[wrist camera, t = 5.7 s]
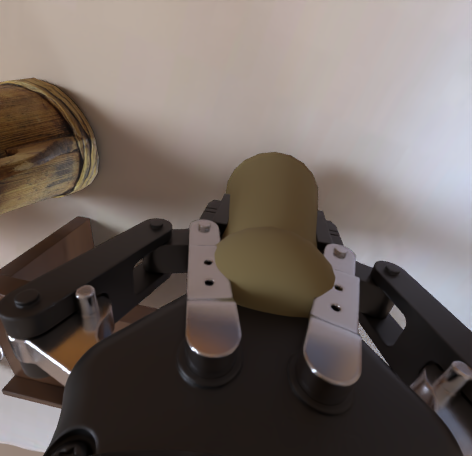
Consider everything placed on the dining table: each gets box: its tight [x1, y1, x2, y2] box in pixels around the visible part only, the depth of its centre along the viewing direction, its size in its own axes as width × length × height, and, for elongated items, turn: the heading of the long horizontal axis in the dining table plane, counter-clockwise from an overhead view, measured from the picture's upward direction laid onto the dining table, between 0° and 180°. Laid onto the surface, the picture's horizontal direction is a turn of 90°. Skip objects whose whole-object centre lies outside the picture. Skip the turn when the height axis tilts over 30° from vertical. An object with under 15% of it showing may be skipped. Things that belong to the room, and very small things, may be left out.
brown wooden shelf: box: [0, 217, 158, 409], centre depth 22 cm, size 22×10×11 cm, turn 83°
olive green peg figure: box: [214, 152, 336, 318], centre depth 13 cm, size 6×6×11 cm
